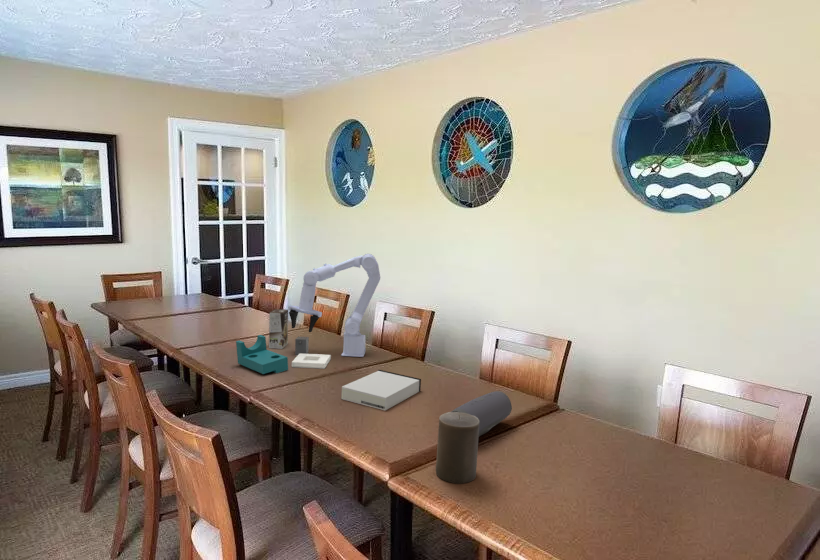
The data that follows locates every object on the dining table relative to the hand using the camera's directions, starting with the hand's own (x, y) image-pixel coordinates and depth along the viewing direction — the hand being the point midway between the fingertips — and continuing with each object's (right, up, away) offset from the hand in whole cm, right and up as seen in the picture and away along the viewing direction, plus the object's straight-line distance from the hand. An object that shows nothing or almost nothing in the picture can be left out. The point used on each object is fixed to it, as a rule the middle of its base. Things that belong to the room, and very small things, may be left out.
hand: (301, 329), depth 224 cm
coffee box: (-13, -9, +12) cm, 20 cm away
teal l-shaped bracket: (-11, -13, -20) cm, 27 cm away
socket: (+7, -12, -12) cm, 18 cm away
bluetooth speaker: (+66, -23, -73) cm, 101 cm away
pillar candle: (+57, -26, -97) cm, 116 cm away
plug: (0, -10, +1) cm, 10 cm away
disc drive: (+37, -19, -45) cm, 61 cm away
